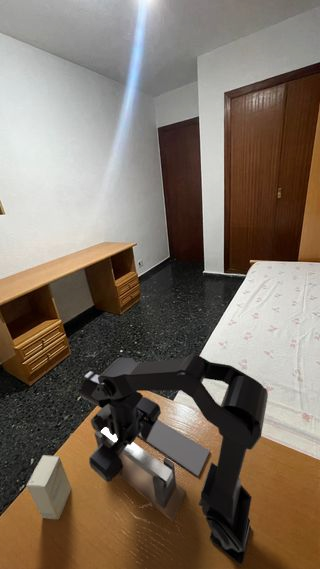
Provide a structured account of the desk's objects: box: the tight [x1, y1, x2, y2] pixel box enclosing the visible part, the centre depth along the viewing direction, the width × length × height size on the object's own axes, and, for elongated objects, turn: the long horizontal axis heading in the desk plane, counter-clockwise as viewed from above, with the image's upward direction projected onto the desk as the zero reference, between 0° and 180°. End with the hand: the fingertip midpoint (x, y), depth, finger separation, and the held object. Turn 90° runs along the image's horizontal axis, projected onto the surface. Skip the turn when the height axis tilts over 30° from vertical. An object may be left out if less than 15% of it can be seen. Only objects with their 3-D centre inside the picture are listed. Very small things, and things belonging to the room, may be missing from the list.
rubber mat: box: [137, 419, 211, 478], centre depth 67 cm, size 28×7×1 cm, turn 55°
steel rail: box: [99, 428, 173, 487], centre depth 56 cm, size 22×2×2 cm, turn 55°
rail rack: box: [93, 430, 187, 522], centre depth 57 cm, size 26×6×10 cm, turn 55°
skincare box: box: [25, 454, 72, 520], centre depth 52 cm, size 6×4×12 cm
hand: (133, 456), depth 56 cm, fingers open, 9 cm apart
